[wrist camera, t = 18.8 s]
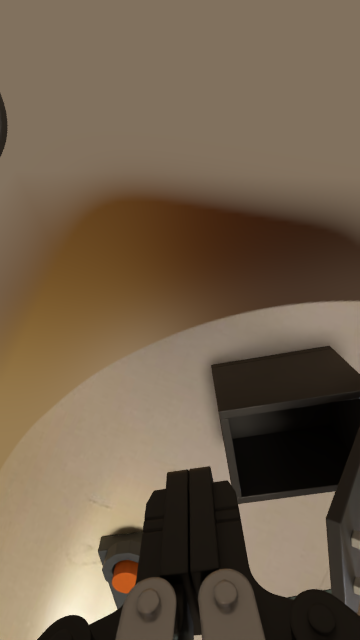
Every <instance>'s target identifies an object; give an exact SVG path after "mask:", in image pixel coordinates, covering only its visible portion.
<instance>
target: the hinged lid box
mask: <svg viewBox="0 0 360 640" xmlns="http://www.w3.org/2000/svg"><path fill="white" fill-rule="evenodd" d="M211 368H212V374H213V380H214V386H215V393H216V399H217V405H218V411H219V417H220V423H221V428H222V434H223V440H224V446H225V451H226V457H227V463H228V468H229V474H230V480H231V486H232V487H233V489H234V490H235V491H236V496H237V502H238V504H242V503H249V502H257V501H264V500H272V499H279V498H287V497H295V496H302V495H310V494H317V493H325V492H332V491H336V489H337V487H338V484H339V481H340V478H341V476H342V473H343V470H344V467H345V465H346V462H347V459H348V456H349V454H350V451H351V448H352V445H353V443H354V440H355V437H356V434H357V432H358V429H359V426H360V374H359V373H358V372H357V371H356V370H355V369H354V368H353V367H351V366H350V365H349V364H348V363H347V362H346V361H345V360H344V359H343V358H342V357H341V356H340V355H339V354H338V353H337V352H335V351H334V350H333V349H332V348H331V347H330V346H327V347H321V348H315V349H309V350H303V351H296V352H290V353H284V354H278V355H272V356H266V357H259V358H253V359H247V360H241V361H235V362H229V363H222V364H216V365H211Z"/></svg>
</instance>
